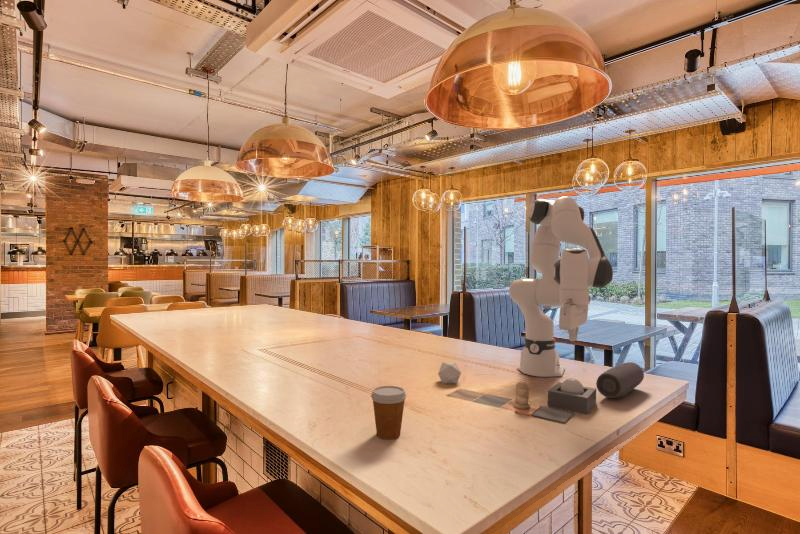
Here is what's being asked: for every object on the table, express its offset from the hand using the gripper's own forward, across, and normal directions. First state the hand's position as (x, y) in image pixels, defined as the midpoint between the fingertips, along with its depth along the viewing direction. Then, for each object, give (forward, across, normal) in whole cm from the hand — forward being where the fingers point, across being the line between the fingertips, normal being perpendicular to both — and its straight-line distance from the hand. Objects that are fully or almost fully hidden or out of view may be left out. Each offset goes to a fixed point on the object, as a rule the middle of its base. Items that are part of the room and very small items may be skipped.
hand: (573, 340), depth 142 cm
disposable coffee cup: (+21, -55, +33) cm, 68 cm away
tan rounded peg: (+20, -13, +12) cm, 27 cm away
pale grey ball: (+19, 0, 0) cm, 19 cm away
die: (+21, -3, +44) cm, 49 cm away
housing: (+21, 0, 0) cm, 21 cm away
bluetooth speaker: (+21, +22, -11) cm, 33 cm away
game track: (+21, -13, +17) cm, 30 cm away
